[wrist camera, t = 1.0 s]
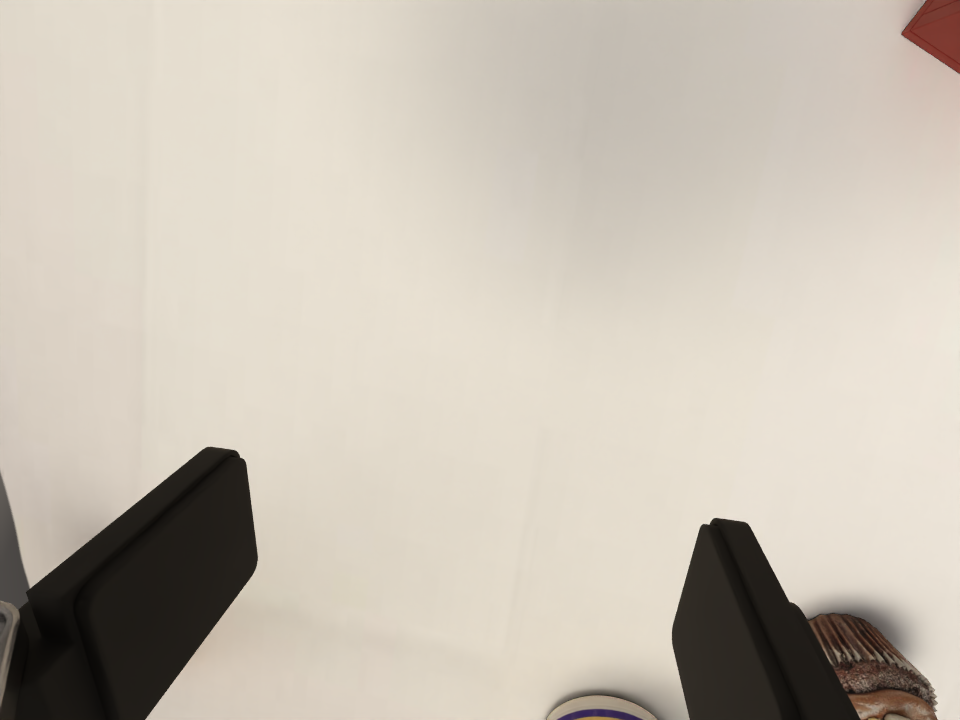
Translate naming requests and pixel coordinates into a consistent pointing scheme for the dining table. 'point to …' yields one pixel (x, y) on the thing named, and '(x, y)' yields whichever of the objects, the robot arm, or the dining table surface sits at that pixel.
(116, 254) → the dining table surface
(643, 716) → the supplement tub
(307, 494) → the dining table surface
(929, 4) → the red open tray
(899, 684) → the cupcake
